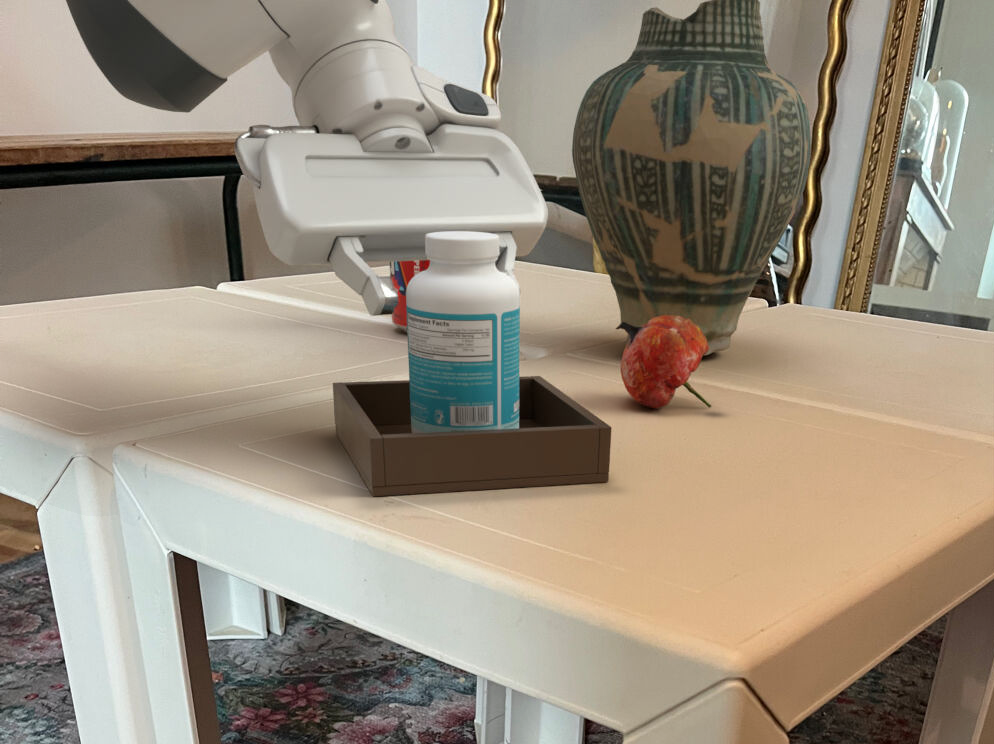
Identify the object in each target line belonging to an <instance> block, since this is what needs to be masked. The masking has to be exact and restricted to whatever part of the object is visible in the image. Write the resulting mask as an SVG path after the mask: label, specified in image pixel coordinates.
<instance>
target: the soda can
mask: <svg viewBox="0 0 994 744" xmlns="http://www.w3.org/2000/svg"><path fill="white" fill-rule="evenodd" d="M429 265H430V260H417V261H394V262H389V276H390V278H391V280H392V283H393V289H394V290H395V291H396V292H397V294H398V300H399V301H398V305H397V307H395V308H394V313H393V314H391V322H392V323H393V325H394V326H396V327H397V328H399V329H400V330H401V331H403V333H407V310H406V289H407V286H408V283H409V282H410V280H411V279H412V278H413V277H414V276H415V275H416V274H418V273H420V272H422V271H425V270H427V269H428V268H429Z"/></svg>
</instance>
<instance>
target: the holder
mask: <svg viewBox="0 0 994 744" xmlns="http://www.w3.org/2000/svg"><path fill="white" fill-rule="evenodd" d="M332 395H333V408H334V409H333V410H334V411H333V413H334V426H335V427H334V428H335V434H336V435H337V437H338V440H339V441H340V442H341V444H342V446H343V447H344V449H345V451H346V453H347V455H348V456H349V458H350V459H351V461H352V463H353V465H354V466H355V468H356V469H357V471H358V474H359V475H360V477H361V478H362V480H363V482H364V483H365V485H366V486H367V489H368V490H369V493H371V495H372V497H385V496H401V495H402V496H403V495H419V494H431V493H432V494H433V493H435V494H436V493H451V492H465V491H480V490H481V491H482V490H483V491H485V490H497V489H498V490H499V489H516V488H530V487H531V488H532V487H546V486H547V487H548V486H563V485H564V486H565V485H579V484H592V483H593V484H596V483H608V482H609V476H610V475H609V473H610V462H611V447H612V446H611V444H612V430H613V429H612V426H611V425H610V424H608V423H606V422H605V421H603V420H602V419H601V418H599V417H598V416H596V415H595V414H594V413H592V412H591V411H590V410H589V409H587V408H586V407H584V406H582V405H581V404H580V403H579V402H577V401H576V400H574V399H573V398H572V397H570V396H568V395H567V394H566V393H565V392H563V391H562V390H560V389H559V388H557V387H556V386H555V385H554V384H552V383H551V382H550V381H547V380H546V379H545V378H543V377H542V376H541V375H530V376H529V375H528V376H527V375H526V376H519V428H517V429H495V430H474V431H452V432H431V433H412V430H411V408H410V383H409V379H407V380H406V379H404V380H378V381H377V380H376V381H375V380H374V381H373V380H372V381H348V382H347V381H346V382H345V381H344V382H341V381H340V382H332Z"/></svg>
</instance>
